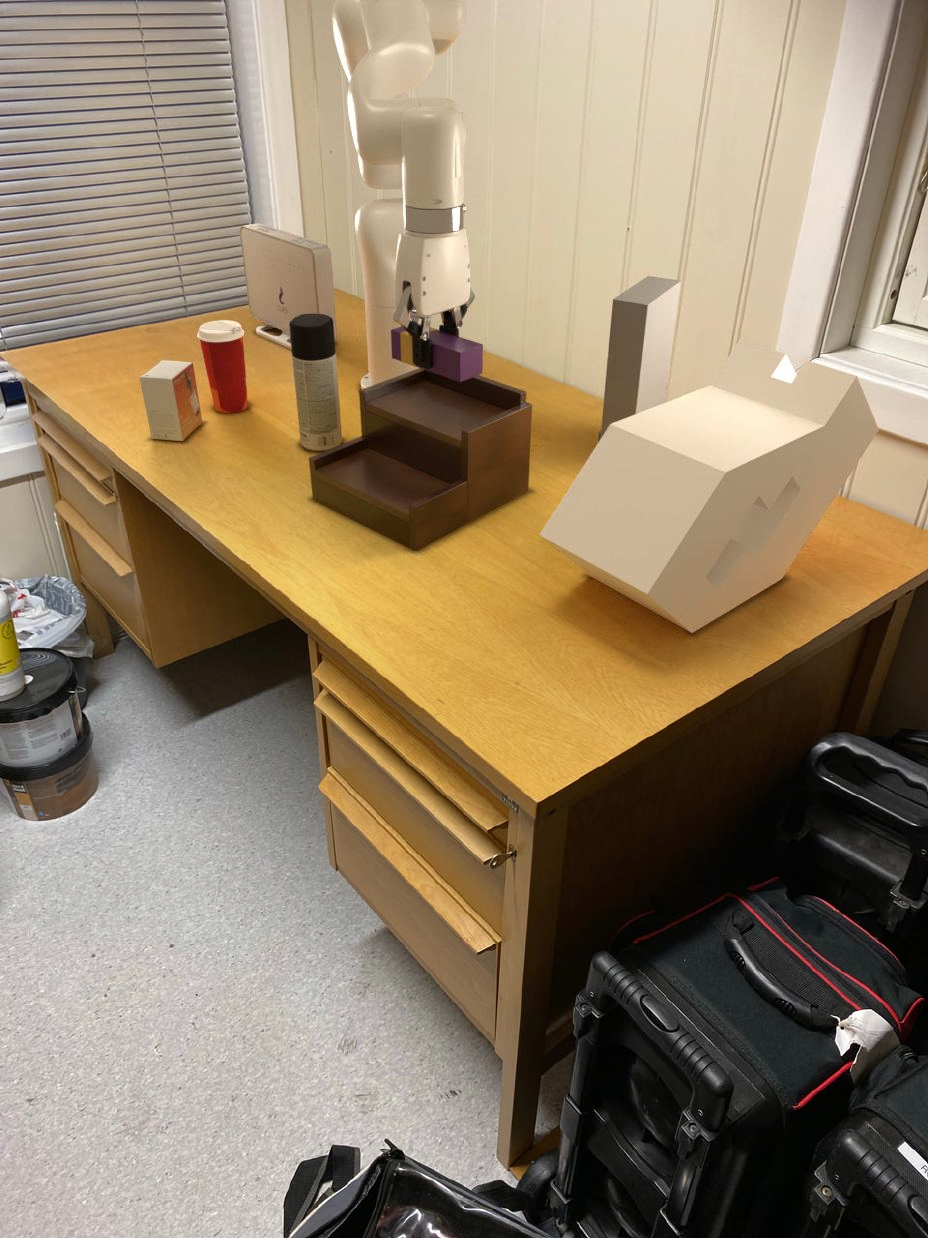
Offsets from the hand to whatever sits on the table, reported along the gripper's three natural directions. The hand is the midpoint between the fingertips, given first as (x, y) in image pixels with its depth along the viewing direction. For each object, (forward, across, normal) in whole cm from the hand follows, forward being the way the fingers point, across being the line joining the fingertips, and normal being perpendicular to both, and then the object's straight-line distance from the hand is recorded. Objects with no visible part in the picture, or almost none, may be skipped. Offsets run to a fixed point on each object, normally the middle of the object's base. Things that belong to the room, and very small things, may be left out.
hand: (436, 359), depth 130 cm
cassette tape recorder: (+19, -30, +13) cm, 38 cm away
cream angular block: (+20, -7, +40) cm, 45 cm away
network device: (+19, -27, -67) cm, 75 cm away
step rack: (+19, +3, 0) cm, 20 cm away
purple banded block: (+1, 0, 0) cm, 1 cm away
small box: (+19, +15, -45) cm, 51 cm away
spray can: (+19, +2, -24) cm, 31 cm away
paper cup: (+19, +3, -47) cm, 51 cm away
